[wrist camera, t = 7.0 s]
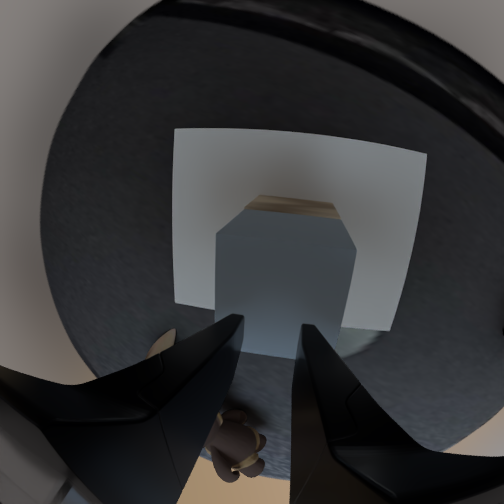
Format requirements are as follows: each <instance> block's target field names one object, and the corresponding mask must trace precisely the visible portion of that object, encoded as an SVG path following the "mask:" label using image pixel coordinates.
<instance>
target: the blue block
mask: <svg viewBox="0 0 504 504" xmlns="http://www.w3.org/2000/svg"><path fill="white" fill-rule="evenodd" d="M356 253H357V249H356V247H355V245H354V243H353V241H352V239H351V237H350V235H349V233H348V231H347V229H346V228H345V226H344V224H343V222H342V220H341V219H333V218H325V217H316V216H308V215H299V214H290V213H280V212H271V211H261V210H250V209H244V210H243V211H242V212H240V213H239V214H238V215H237V216H236V217H235V218H233V219H232V220H231V221H230V222H229V223H228V224H226V225H225V226H224V227H223V228H222V229H221V230H219V231H218V232H217V233H216V247H215V322H217V321H219V320H221V319H223V318H224V317H226V316H228V315H230V314H232V313H234V314H240V315H244V317H245V323H244V338H243V343H242V347H241V351H243V352H249V353H255V354H262V355H269V356H276V357H283V358H291V359H296V351H297V345H298V339H299V334H300V329H301V325H302V324H303V323H305V324H313V325H315V326H316V327H317V328H318V330H319V331H320V332H321V334H322V335H323V336H324V337H325V339H326V340H327V341H328V342H329V344H330V345H331V346H332V347H333V349H334V350H335V347H336V344H337V340H338V336H339V332H340V328H341V324H342V320H343V316H344V312H345V307H346V303H347V298H348V294H349V289H350V284H351V280H352V275H353V270H354V264H355V259H356Z"/></svg>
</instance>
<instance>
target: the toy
mask: <svg viewBox="0 0 504 504" xmlns="http://www.w3.org/2000/svg"><path fill="white" fill-rule="evenodd" d="M175 336H176V329H171V330H170V331H168V332H167V333H165V334H164V335H162V336H161V337H160V338H159V339H158V340H157V341H156V342H155V343H154V344H153V346H152V347H151V349H150V350H149V352H148V354H147V356H146V358H145V359H147V358H150V357H151V356H153V355H155V354H157V353H159V354H160V352H161V351H163V350H165V349H167V348H169V347H171V346H173V345H174V341H175ZM246 421H247V415H246V413H245V412H244V411H242V410H238V409H233V410H228V411H226V412H224V413H223V414H222V415H221V414H220V412H219V413H218V415H217V417H216V419H215V422H214V424H213V426H212V428H211V431H210V433H209V435H208V437H207V439H206V442H205V444H204V446H203V448H204V447H205V449H206V451H207V452H208V453H209V454H210V455H211V457H212V461H213V465H214V468H215V470H216V472H217V474H218V476H219V477H220V478H221V479H222V480H223V481H225V482H229V483H230V482H234V481H236V480H237V479H238V478H239V476H240V474H239V471H240V472H241V473H243V474H244V475H246V476H247V477H251V478H252V477H256V476H258V475H259V474H260V473H261V472H262V471H263V469H264V467H265V462H264V460H263V459H261V458H259V457H258V454H257V452H259V451H261V450H262V449H263V448H264V446H265V444H266V437H265V436H264V435H262V434H259V433H258V432H257V431H256V430H255V429H254V428H252V427H250V426H245V425H243V424H244V423H245V422H246ZM231 468H233V469H234V470H236V471H233V472H232V471H231ZM237 470H238V471H237Z"/></svg>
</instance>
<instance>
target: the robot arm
mask: <svg viewBox="0 0 504 504" xmlns="http://www.w3.org/2000/svg"><path fill="white" fill-rule="evenodd" d="M244 323H245V317H244V315H240V314H234V313H232V314H230V315H228V316H226V317H224V318H223V319H221V320H219V321H217V322H215V323H214V324H212V325H210V326H208V327H206V328H204V329H203V330H201V331H199V332H197V333H195V334H193V335H192V336H190V337H188V338H186V339H184V340H182V341H180V342H178V343H177V344H175V345H173V346H171V347H169V348H167V349H165V350H163V351H161V352H160V354H159V353H157V354H155V355H153V356H151V357H150V358H147V359H145V360H143V361H141V362H139V363H137V364H135V365H132V366H130V367H127V368H125V369H122V370H120V371H117V372H114V373H112V374H109V375H106V376H103V377H101V378H98V379H95V380H92V381H89V382H86V383H83V384H78V385H64V384H59V383H55V382H51V381H47V380H44V379H40V378H36V377H33V376H30V375H27V374H23V373H20V372H17V371H14V370H11V369H8V368H6V367H3V366H1V365H0V504H176V503H177V501H178V499H179V497H180V495H181V493H182V490H183V489H184V487H185V484H186V482H187V480H188V478H189V476H190V474H191V472H192V470H193V468H194V465H195V463H196V461H197V459H198V457H199V455H200V453H201V450H202V448H203V446H204V444H205V442H206V439H207V437H208V435H209V433H210V431H211V428H212V426H213V424H214V422H215V419H216V417H217V415H218V413H219V410H220V408H221V406H222V404H223V401H224V399H225V397H226V394H227V392H228V390H229V388H230V385H231V383H232V380H233V377H234V374H235V370H236V366H237V362H238V358H239V355H240V351H241V347H242V343H243V338H244ZM503 335H504V331H503ZM289 504H504V456H500V457H486V456H472V455H461V454H460V455H459V454H451V453H443V452H436V451H432V450H429V449H426V448H424V447H423V446H421V445H420V444H418V443H417V442H416V441H415V440H414V439H413V438H412V437H411V436H409V435H408V434H407V433H406V432H405V431H404V430H403V429H402V428H401V427H400V426H399V425H398V424H397V423H396V422H395V421H394V420H393V419H392V418H391V417H390V416H389V415H388V414H387V413H386V412H385V411H384V410H383V409H382V408H381V407H380V406H379V405H378V404H377V402H376V401H375V400H374V399H373V398H372V397H371V395H370V394H369V393H368V392H367V390H366V389H365V388H364V387H363V385H361V383H360V382H359V380H358V379H357V378H356V377H355V375H354V374H353V373H352V372H351V370H350V369H349V368H348V366H347V365H346V364H345V363H344V361H343V360H342V359H341V358H340V356H339V355H338V354H337V353H336V351H335V350H334V349H333V347H332V346H331V345H330V344H329V342H328V341H327V340H326V339H325V337H324V336H323V335H322V334H321V332H320V331H319V330H318V328H317V327H316V326H315V325H313V324H305V323H303V324H302V325H301V329H300V334H299V339H298V345H297V351H296V359H295V367H294V375H293V382H292V419H291V474H290V501H289Z"/></svg>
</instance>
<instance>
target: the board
mask: <svg viewBox="0 0 504 504" xmlns="http://www.w3.org/2000/svg"><path fill="white" fill-rule="evenodd" d="M426 159H427V154H425V153H420V152H416V151H412V150H407V149H403V148H398V147H393V146H388V145H383V144H378V143H372V142H366V141H360V140H354V139H348V138H341V137H334V136H326V135H318V134H309V133H299V132H287V131H274V130H258V129H232V128H185V129H175V133H174V154H173V189H172V234H173V270H174V291H175V303H180V304H185V305H190V306H196V307H201V308H207V309H213V310H215V247H216V233H217V232H218V231H219V230H221V229H222V228H223V227H224V226H225V225H226V224H228V223H229V222H230V221H231V220H232V219H233V218H235V217H236V216H237V215H238V214H239V213H240V212H242V211H243V210H244V207H245V206H246V205H247V204H249V203H250V202H251V201H252V200H254V199H255V198H256V197H257V196H259V195H266V196H276V197H286V198H295V199H304V200H313V201H321V202H329V203H333V205H334V207H335V208H336V210H337V212H338V214H339V215H340V217H341V220H342V222H343V224H344V226H345V228H346V229H347V231H348V233H349V235H350V237H351V239H352V241H353V243H354V245H355V247H356V249H357V253H356V259H355V264H354V270H353V275H352V280H351V284H350V289H349V294H348V298H347V303H346V307H345V312H344V316H343V320H342V324H341V327H347V328H357V329H369V330H382V331H390V328H391V325H392V322H393V319H394V316H395V313H396V309H397V306H398V303H399V299H400V296H401V293H402V289H403V285H404V282H405V278H406V274H407V270H408V266H409V262H410V258H411V253H412V249H413V244H414V239H415V234H416V229H417V224H418V218H419V213H420V207H421V200H422V193H423V186H424V178H425V169H426Z"/></svg>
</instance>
